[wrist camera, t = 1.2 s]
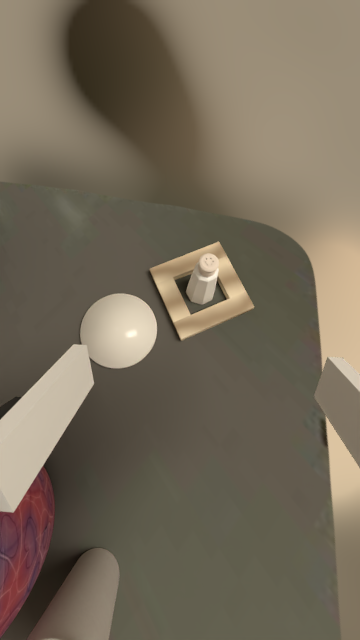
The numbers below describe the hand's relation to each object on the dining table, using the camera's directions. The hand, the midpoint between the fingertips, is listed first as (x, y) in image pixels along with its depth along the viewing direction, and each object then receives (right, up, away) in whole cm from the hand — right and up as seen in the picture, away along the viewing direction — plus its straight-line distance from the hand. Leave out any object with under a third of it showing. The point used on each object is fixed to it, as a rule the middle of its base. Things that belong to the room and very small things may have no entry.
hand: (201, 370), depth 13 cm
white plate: (-12, +1, +26) cm, 29 cm away
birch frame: (+2, +8, +28) cm, 30 cm away
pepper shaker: (+2, +8, +29) cm, 30 cm away
